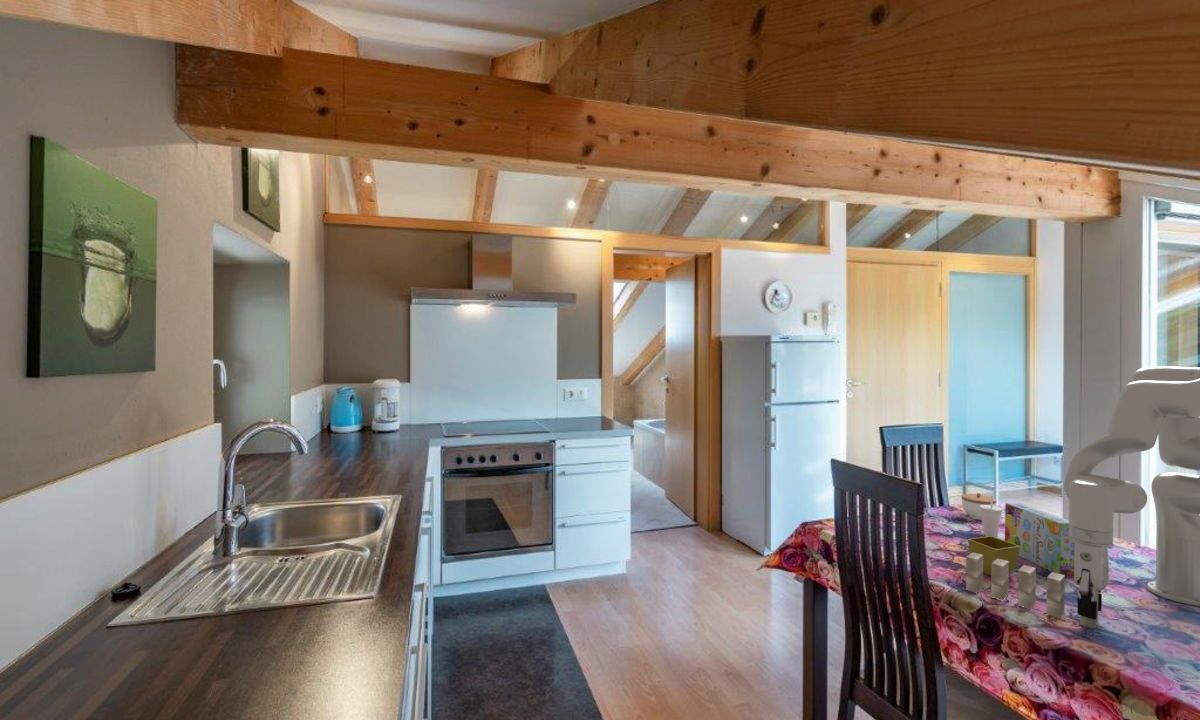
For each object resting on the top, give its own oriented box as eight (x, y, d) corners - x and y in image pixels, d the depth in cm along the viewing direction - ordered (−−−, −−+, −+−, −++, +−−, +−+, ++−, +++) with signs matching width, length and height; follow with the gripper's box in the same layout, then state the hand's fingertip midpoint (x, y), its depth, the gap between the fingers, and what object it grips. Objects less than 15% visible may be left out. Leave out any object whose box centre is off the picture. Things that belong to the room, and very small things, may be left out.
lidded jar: (1001, 519, 198) (1001, 494, 198) (987, 524, 193) (987, 498, 193) (970, 512, 208) (970, 488, 207) (955, 516, 202) (955, 491, 202)
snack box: (1079, 577, 147) (1080, 523, 147) (1059, 576, 148) (1059, 523, 147) (1020, 548, 169) (1021, 501, 168) (1002, 548, 169) (1003, 501, 169)
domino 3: (1035, 603, 132) (1035, 567, 131) (1030, 609, 128) (1030, 573, 128) (1023, 600, 133) (1023, 565, 133) (1018, 606, 130) (1018, 570, 130)
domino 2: (1008, 595, 136) (1008, 561, 136) (1002, 601, 133) (1003, 566, 133) (997, 592, 138) (997, 558, 138) (991, 598, 135) (991, 563, 134)
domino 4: (1064, 612, 127) (1064, 575, 127) (1059, 618, 124) (1060, 580, 124) (1051, 608, 129) (1052, 572, 129) (1046, 614, 126) (1047, 577, 126)
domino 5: (1098, 621, 123) (1098, 583, 123) (1094, 629, 120) (1094, 589, 119) (1084, 617, 125) (1084, 579, 124) (1080, 624, 121) (1080, 586, 121)
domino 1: (982, 588, 140) (983, 554, 140) (976, 594, 137) (977, 559, 137) (972, 585, 142) (972, 552, 142) (966, 590, 139) (966, 556, 139)
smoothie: (983, 537, 178) (983, 496, 178) (976, 531, 185) (976, 491, 184) (1005, 539, 177) (1006, 498, 176) (997, 533, 183) (998, 493, 183)
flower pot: (996, 582, 144) (996, 549, 144) (966, 569, 153) (966, 538, 152) (1020, 578, 147) (1020, 546, 146) (989, 566, 155) (990, 535, 155)
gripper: (1106, 548, 113) (1105, 631, 114) (1118, 531, 124) (1117, 607, 124) (1060, 538, 119) (1060, 618, 119) (1076, 523, 130) (1075, 596, 130)
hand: (1089, 612), depth 122 cm, fingers open, 5 cm apart
